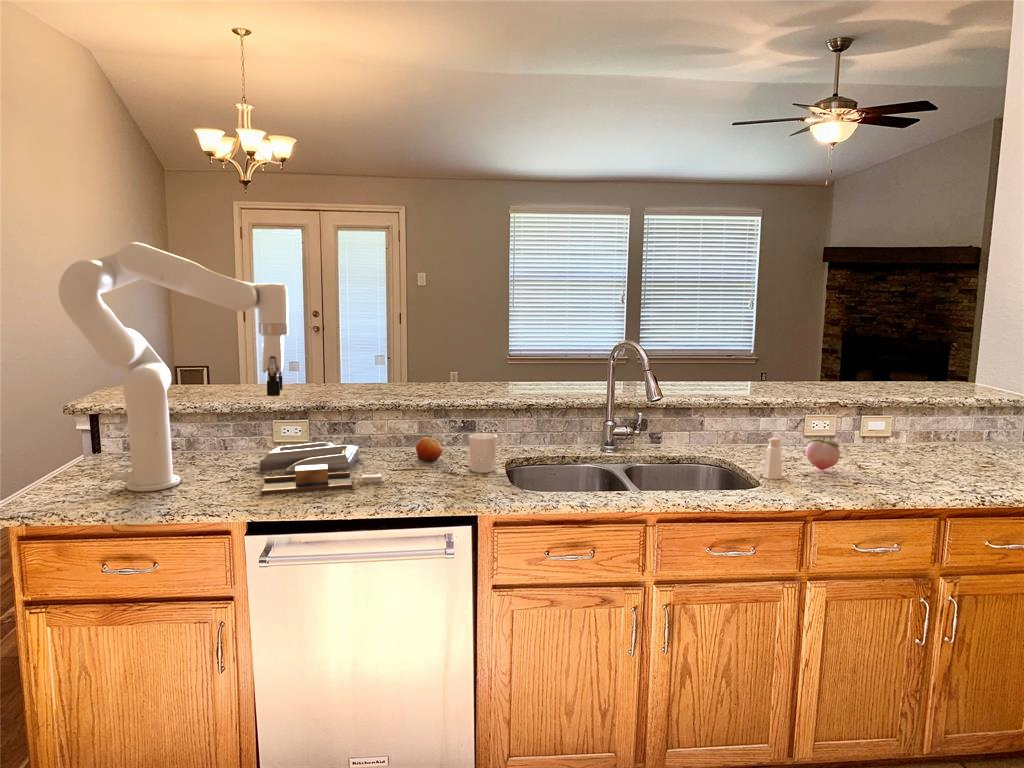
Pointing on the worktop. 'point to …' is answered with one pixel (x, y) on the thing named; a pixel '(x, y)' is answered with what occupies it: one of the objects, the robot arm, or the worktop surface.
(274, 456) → the emblem
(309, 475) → the eraser
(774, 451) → the pepper shaker
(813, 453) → the decorative fruit
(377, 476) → the chalk lump
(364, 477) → the chalk lump
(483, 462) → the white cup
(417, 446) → the fruit
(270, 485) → the slate tray
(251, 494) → the worktop surface
